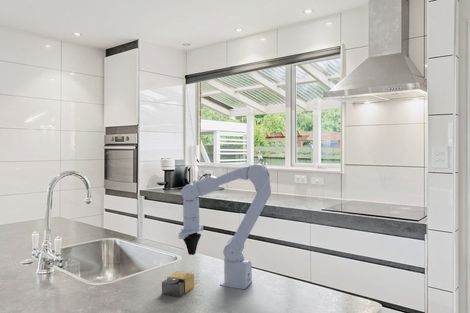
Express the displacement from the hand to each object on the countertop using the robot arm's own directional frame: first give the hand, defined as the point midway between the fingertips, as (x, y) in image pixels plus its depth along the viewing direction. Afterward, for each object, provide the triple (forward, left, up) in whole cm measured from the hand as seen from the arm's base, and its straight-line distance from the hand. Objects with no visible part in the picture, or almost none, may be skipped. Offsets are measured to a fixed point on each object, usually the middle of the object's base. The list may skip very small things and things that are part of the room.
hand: (191, 254), depth 133 cm
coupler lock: (0, +8, -10) cm, 13 cm away
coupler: (0, +10, -10) cm, 14 cm away
